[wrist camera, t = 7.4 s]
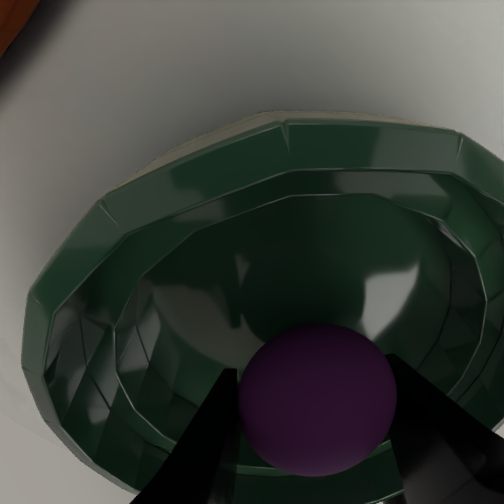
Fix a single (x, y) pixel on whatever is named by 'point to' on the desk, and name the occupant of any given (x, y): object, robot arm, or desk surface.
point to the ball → (316, 399)
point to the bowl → (270, 285)
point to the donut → (13, 19)
